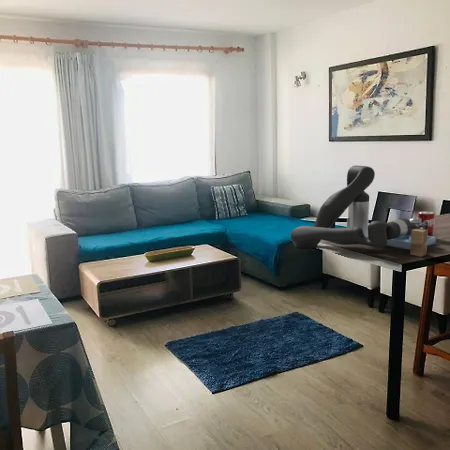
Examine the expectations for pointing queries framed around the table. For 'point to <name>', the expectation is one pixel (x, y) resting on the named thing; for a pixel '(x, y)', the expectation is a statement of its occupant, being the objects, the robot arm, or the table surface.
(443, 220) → the table surface
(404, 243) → the tote
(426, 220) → the soda can
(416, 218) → the metal cylinder
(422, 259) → the table surface
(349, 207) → the robot arm
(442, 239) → the table surface
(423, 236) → the brown rectangular block
